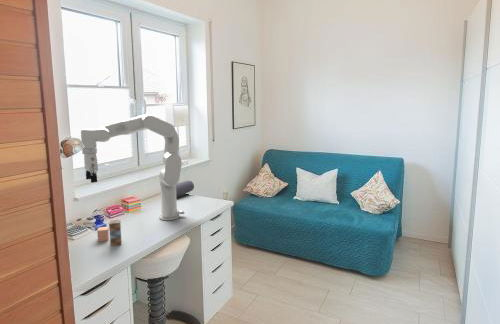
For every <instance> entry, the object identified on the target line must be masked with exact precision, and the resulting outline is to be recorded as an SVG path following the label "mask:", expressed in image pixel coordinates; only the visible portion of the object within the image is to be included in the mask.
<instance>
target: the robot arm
mask: <svg viewBox="0 0 500 324" xmlns="http://www.w3.org/2000/svg"><path fill="white" fill-rule="evenodd" d="M145 130H149V131H150V132H153V133H155V134H157V135H160V136H162V137H163V138H164V139H163V140H164V148H163V157H162V162H163V164H164V165H165V166H164V168H163V169H161V171H160V173H159V186H160V202H161V203H160V204H161V205H160V206H161V207H160V208H161V214H159V217H158V219H160V220H162V221H173V220H178V219H179V218H180V216H181V215H185V210H182V209H181V210H178V205H177V200H178V199H177V198H178V197H176V185H177V184H178V183H180V182H179V181H180V178H181V177H180V176H181V172H182V164H183V163H182V158H181V156H180V155H179V151H180V150H179V149H180V146H179V145H180V137H179V134H178V133H177V130H176V128H175V126H174V125H173V124H172V123H169V122H168V121H165V120H163V119H161V118H159V117H157V116H155V115H153V114H150V113H146V114H142V115H138V116H135V117H131V118H128V119H125V120H122V121H119V122H115V123H112V124H108V125H105V126H101V127H99V128H98V129H94V128H84V129H83V128H82V129H81V130H80V136H81V137H80V140H81V144H82V143H83V144H84V146H85V147H84V148H83V149H82V148H81V151H82V155H83V163H84V169H85V179H86V180H90V183H97V182H98V174H97V172H98V171H99V165H98V158H97V153H98V147H97V142H99V143H106V142H108V141H110V140H111V139H112V138H115V137H118V136H123V135H124V136H125V135H126V136H127V135H128V136H129V135H132V134H137V133H139V132H141V131H142V132H143V131H145Z"/></svg>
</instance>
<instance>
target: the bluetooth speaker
mask: <svg viewBox="0 0 500 324" xmlns="http://www.w3.org/2000/svg"><path fill="white" fill-rule="evenodd" d="M194 188H195V185H194V183H193V181H192V180H186V181H181V182H178V183H177V185H176V198H179V197H183V196H185V195H186V194H188V193H190V192H192V191H194Z"/></svg>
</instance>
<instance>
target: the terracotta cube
mask: <svg viewBox="0 0 500 324" xmlns="http://www.w3.org/2000/svg"><path fill="white" fill-rule="evenodd" d="M96 231H97V233H96V234H97V242H107V241H109V240H110V230H109V226H101V227H98V228H97V230H96Z"/></svg>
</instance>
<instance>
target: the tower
mask: <svg viewBox="0 0 500 324" xmlns="http://www.w3.org/2000/svg"><path fill="white" fill-rule="evenodd" d="M108 228H109V242H110V247H114V246H115V247H116V246H121V245H122V242H123V241H122V240H123V239H122V226H121V219H114V220H113V219H111V220H109V223H108Z"/></svg>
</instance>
